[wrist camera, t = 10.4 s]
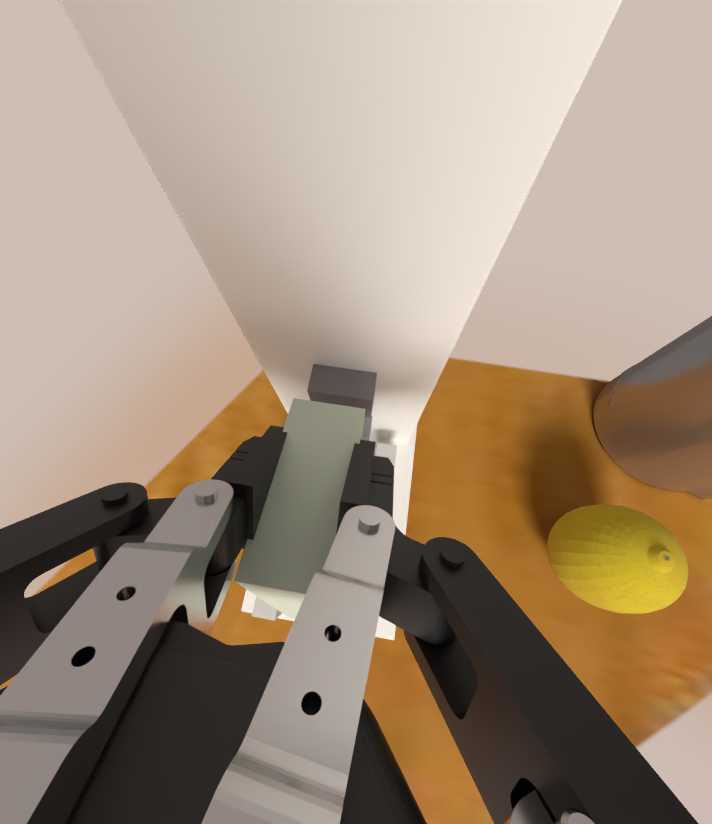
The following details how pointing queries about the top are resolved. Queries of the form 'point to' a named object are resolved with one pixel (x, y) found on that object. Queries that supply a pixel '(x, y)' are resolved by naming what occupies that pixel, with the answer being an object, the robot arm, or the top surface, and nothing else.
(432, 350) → the white tall l-shaped piece
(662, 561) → the lemon
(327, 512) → the pale green slab
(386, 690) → the top surface
